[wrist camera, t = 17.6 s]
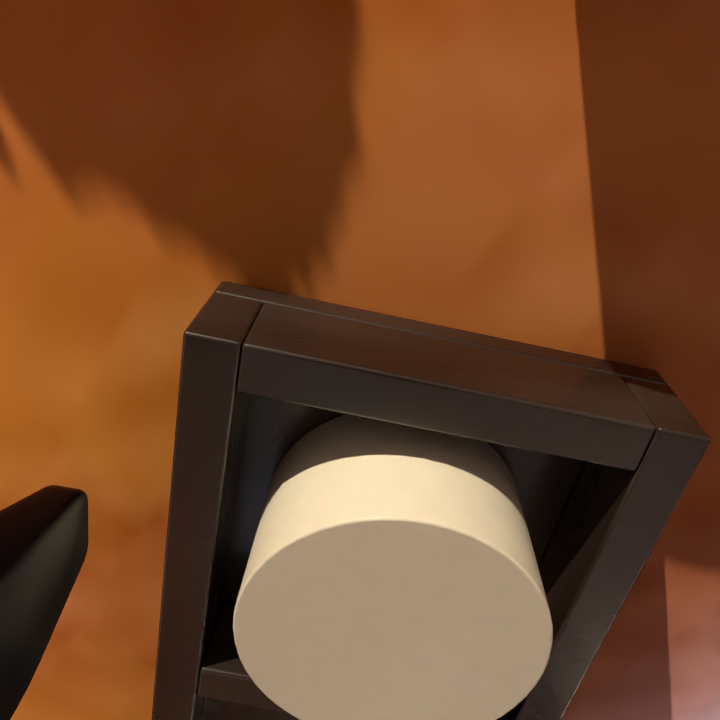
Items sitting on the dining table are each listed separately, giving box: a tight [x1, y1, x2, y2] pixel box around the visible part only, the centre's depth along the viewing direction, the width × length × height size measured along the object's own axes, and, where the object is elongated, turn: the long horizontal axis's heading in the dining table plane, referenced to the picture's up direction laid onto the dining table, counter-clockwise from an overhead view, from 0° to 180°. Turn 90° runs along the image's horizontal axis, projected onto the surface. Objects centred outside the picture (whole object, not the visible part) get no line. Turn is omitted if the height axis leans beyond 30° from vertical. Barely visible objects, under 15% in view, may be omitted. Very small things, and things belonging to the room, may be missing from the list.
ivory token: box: [233, 414, 553, 720], centre depth 12 cm, size 5×5×3 cm
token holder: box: [152, 281, 710, 720], centre depth 14 cm, size 8×16×2 cm, turn 169°
